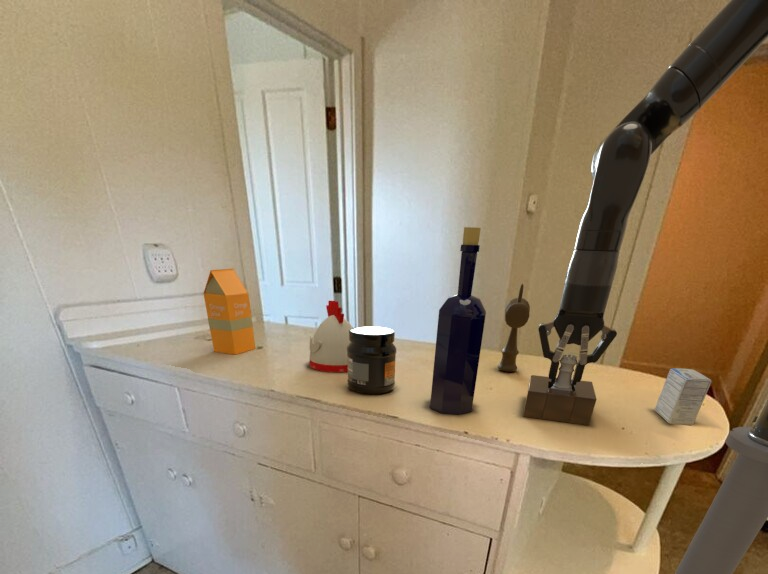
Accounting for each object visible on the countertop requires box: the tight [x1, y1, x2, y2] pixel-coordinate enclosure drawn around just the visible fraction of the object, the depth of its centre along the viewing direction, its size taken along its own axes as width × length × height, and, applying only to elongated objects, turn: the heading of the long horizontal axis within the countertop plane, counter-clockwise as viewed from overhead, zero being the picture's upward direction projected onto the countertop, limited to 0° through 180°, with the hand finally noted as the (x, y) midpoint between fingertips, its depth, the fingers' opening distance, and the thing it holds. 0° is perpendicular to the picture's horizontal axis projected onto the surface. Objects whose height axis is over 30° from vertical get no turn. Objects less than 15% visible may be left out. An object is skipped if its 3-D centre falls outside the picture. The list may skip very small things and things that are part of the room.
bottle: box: [428, 226, 487, 416], centre depth 77 cm, size 9×9×30 cm
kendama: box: [497, 283, 531, 373], centre depth 105 cm, size 6×10×20 cm, turn 165°
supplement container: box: [347, 326, 397, 395], centre depth 91 cm, size 10×10×12 cm
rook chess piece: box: [551, 354, 578, 391], centre depth 82 cm, size 4×4×8 cm
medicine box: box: [654, 367, 712, 427], centre depth 81 cm, size 8×4×9 cm, turn 170°
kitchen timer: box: [309, 300, 354, 373], centre depth 106 cm, size 14×14×15 cm
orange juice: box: [202, 268, 256, 356], centre depth 115 cm, size 8×9×20 cm
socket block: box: [522, 374, 598, 426], centre depth 84 cm, size 12×12×5 cm
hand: (563, 382), depth 82 cm, fingers closed on rook chess piece, 3 cm apart
